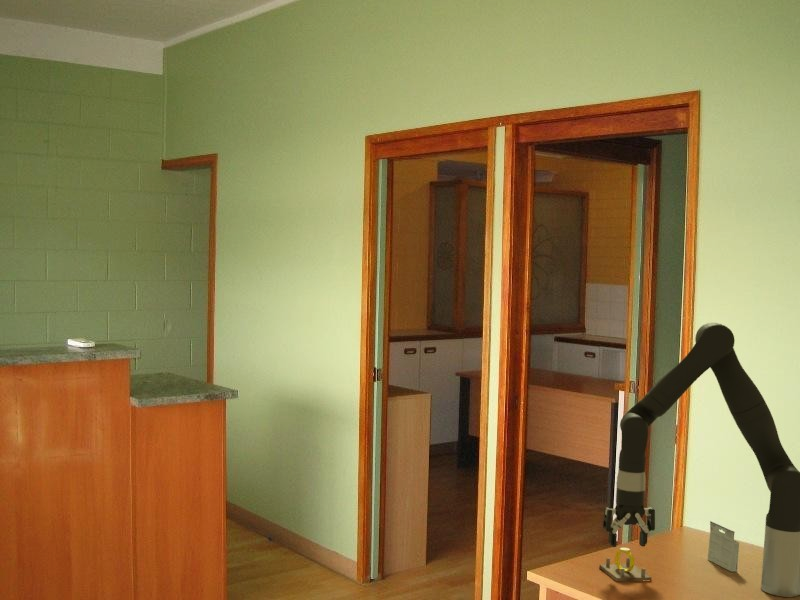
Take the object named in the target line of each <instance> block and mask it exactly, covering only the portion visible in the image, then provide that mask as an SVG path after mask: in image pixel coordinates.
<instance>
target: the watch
mask: <svg viewBox="0 0 800 600" xmlns="http://www.w3.org/2000/svg"><path fill="white" fill-rule="evenodd" d="M621 553H626V555H627V556H628V558H629V559H630V566H629V569H628V570H627V569H625V572H630V571H631V570H632V569H633V567H634V565H635V558H634V555H633V554H632V552H631V549H630V548H628V547H620V548H619V550H617V551H616V552H615V556H614V562H615V564H616V566H617V567H618V569H619V570H621V569H624V568H622V566H621V565H620V564H621V562H620V556H621Z"/></svg>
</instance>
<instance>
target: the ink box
mask: <svg viewBox="0 0 800 600" xmlns="http://www.w3.org/2000/svg"><path fill="white" fill-rule="evenodd" d="M709 526H710V527H709V540H708V541H709V543H708V549H707V550H708V553H707V561H709V562H711V563H713V564H715V565H718V566H719V567H722V568H723V569H725V570H727V571H729V572H731V573H738V567H739V566H738V564H739V563H738V562H739V552H740V542H739V541H738V540H735V531H734V530H732V529H729V528H727V527H724V526H722V525H720V524H718V523H715V522H713V521H712V520H711V521H709ZM721 530H722V532H721Z"/></svg>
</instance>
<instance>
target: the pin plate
mask: <svg viewBox="0 0 800 600" xmlns="http://www.w3.org/2000/svg"><path fill="white" fill-rule="evenodd" d="M605 561H606V562H605V564H604V563H602V564H599V567H598V568H599V569H600V570H601V571H602V572H604V573H605V574H606V575H608V576H609V577H610V578H612V579H613V580H614V581H615V582H616V583H619V582H644V581H643V580H651V581H652V580H653V579H652V577H651V576H650V575H649V574H648V573H646V568H645V567H644V568H641V569H640V568H639V567H638V566H636V565H635V564H634V567H633V569H632V570H631V571H630V572H625V569H627V570H628V569H629V566H630V559H629V557H626V560H625V563H620V565H621V566H622V568H624V569H621V570H619V569H618V567H617V566H616V563H615V564H614V563H613V564H611V558H610V557H606V560H605Z"/></svg>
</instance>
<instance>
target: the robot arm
mask: <svg viewBox="0 0 800 600" xmlns="http://www.w3.org/2000/svg"><path fill="white" fill-rule="evenodd" d="M694 339H695V344H694V345H693V346H692V348H691V349H690V351H689V352H688V353H687V355H685V356H684V357H683V358H682V360H681V361H680V362H679V363H677V364H676V365H675V366H674V367H673V368H672V369H671V370H669V371H668V372H667V373H665V375H664V376H662V377H661V378H660V379H659V380H658V381H657V382H656V383H655V384H654V385H653V386H652V388H650V389H649V391H648V392H647V393H646V394H645V395H644V396H643V397H642V398H641V400H639V401H638V402H637V403H635V405H633V406H632V407H631V408H630V409H628V411H627V412H626V413H625V414H624V415H623V416H622V418H621V420H620V423H619V427H620V430H621V445H620V446H621V447H620V448H621V449H620V451H619V457H618V470H617V471H618V472H617V476H616V483H615V484H616V489H615V490H616V492H615V508H609V507H606V506H605V507H604V509H603V518H602V519H603V520H602V529H604V530H605V531H606V532H608V543H609V544H610V546H611V547H612V548H616V547H617V541H618V540H617V539H618V538H617V537H618V533H617V532H618V531H619V530H620V529H621V528H622V527H623V526H624V525H625V526H628V525H629V526H630V525H632V526H633V525H636V526H637V527H638V528H639V529H640V531H639V539H638V540H639V541H638V542H639V543H638V544H639V546H641V547H646V545H647V543H648V533H650V532H651V531H655V529H656V510H655V509H654V508H652V507H651V506H647V507H644V506H645V500H646V499H645V497H646V483H647V482H646V462H647V461H646V460H647V459H646V452H647V447H648V441H649V440H648V439H649V427H650V426H651V424H652V425H653V422H655V420H657V419H658V418H660V417H662V416H664V415H665V414H666V413H667V412H668V411H669V410H670V409H671V408H672V407H673V405H675V403H676V402H677V401H678V400H679V399H680V398H681V397H682V396H683V395H684V393H686V391H687V390H688V389H689V388H690V387H691V386H692V385H693V384H694V382H696V381H697V380H698V378H700V377H701V376H702V375H704V373H705V372H706V371H708V370H709V369H710V370H711V371H712V372H713V374H714V376H715V378H716V380H717V383H718V386H719V389H720V391H721V394H722V396H723V398H724V401H725V403H726V406H727V409H728V410H729V413H730V414H731V417H732V418H733V420H734V422H735V424H736V425H737V428H738V429H739V431H740V433H741V435H742V436H743V439H744V440H745V441H746V443H747V444H748V446H749V447H750V448H751V450H752V452H753V453H754V455H755V457H756V459H757V462H758V464H759V466H760V470H761V472H762V474H763V478H764V480H765V483H766V486H767V489H768V490H769V492H770V497H769V505H768V506H769V507H768V508H769V509H768V512H767V513H766V515H765V524H764V525H765V526H764V543H763V555H762V566H761V567H762V569H761V583H760V589H761V590H762V591H763V592H765V593H767V594H770V595H772V596H777V597H782V598H783V597H784V598H794V597H797V596H800V471H799V470H798V468H796V466H795V464H794V463H793V462H792V461H791V459H790V457H789V455H788V453H787V452H786V451H785V449H784V446H783V444H782V443H781V440H780V437H779V432H778V430H777V429H778V428H777V427H776V423H775V420H774V418H773V415H772V413H771V410H770V409H769V406H768V404H767V402H766V400H765V399H764V396H763V395H762V394H761V392H760V390H759V389H758V387H757V385H756V384H755V383H754V381H753V380H752V379H751V377H750V376H749V374H748V373H747V372H746V371H745V369H744V367H743V365H742V364H741V362H740V359H739V358H738V355H737V353H736V351H735V348H734V347H735V335H734V333H733V332H732V329H730V328H729V327H728V326H726V325H724V324H722V323H717V322H707V323H705V324H702V325H701V326H700V327H699V328H698V330H697V331H696V333H695V338H694ZM614 515H615V518H613V517H614ZM644 515H645V516H646V523H645V522H644V520H643V516H644ZM612 518H613V519H612Z"/></svg>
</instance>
